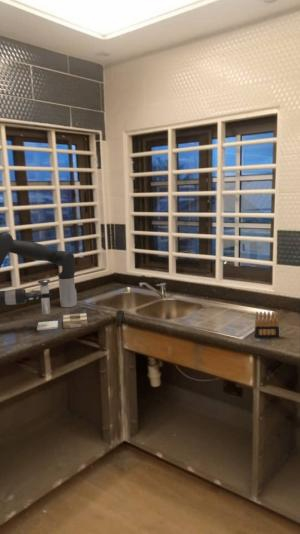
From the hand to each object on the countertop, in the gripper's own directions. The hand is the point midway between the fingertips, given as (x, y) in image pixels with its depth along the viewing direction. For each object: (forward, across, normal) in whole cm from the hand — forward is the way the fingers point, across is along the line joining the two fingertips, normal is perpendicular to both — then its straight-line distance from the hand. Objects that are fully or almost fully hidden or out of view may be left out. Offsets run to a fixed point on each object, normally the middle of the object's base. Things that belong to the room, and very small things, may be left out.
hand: (50, 294), depth 209 cm
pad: (-3, 0, +17) cm, 17 cm away
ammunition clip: (+96, -46, +16) cm, 107 cm away
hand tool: (+34, -4, +17) cm, 39 cm away
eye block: (+11, 0, +17) cm, 20 cm away
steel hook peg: (-3, 0, +10) cm, 10 cm away
